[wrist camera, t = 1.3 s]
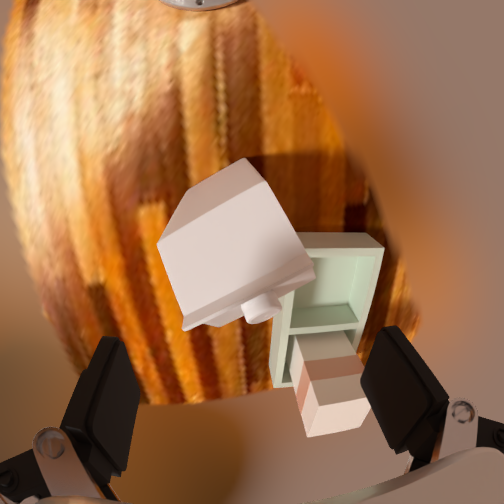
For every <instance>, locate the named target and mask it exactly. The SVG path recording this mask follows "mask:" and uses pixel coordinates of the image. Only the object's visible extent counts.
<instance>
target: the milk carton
mask: <svg viewBox="0 0 504 504" xmlns="http://www.w3.org/2000/svg"><path fill="white" fill-rule="evenodd" d="M157 246H158V249H159V252H160V255H161V258H162V261H163V263H164V266H165V269H166V272H167V274H168V277H169V280H170V282H171V285H172V288H173V290H174V293H175V295H176V298H177V300H178V303H179V305H180V308H181V310H182V313H183V315H184V321H183V327H182V329H183V330H184V331H188V330H190V329H192V328H194V327H196V326H198V325H200V324H202V323H204V324H208V325H212V326H216V327H221V326H223V325H225V324H227V323H230V322H232V321H234V320H236V319H238V318H240V317H242V316H245V318H246V321H247V322H248V323H249V324H256V323H260V322H263V321H265V320H267V319H270V318H271V317H273V316H275V315H277V314H278V313H279V312H280V311H281V310H282V305H281V303H280V301H279V300H278V298H280V297H282V296H284V295H286V294H288V293H290V292H291V291H293V290H295V289H297V288H299V287H301V286H303V285H305V284H307V283H309V282H310V281H312V280H314V279H315V278H316V276H315V273H314V270H313V266H314V263H313V262H312V260H311V259H310V257H309V255H308V254H307V252H306V250H305V248H304V247H303V245H302V243H301V241H300V239H299V238H298V236H297V234H296V232H295V230H294V229H293V227H292V225H291V223H290V221H289V220H288V218H287V216H286V214H285V213H284V211H283V209H282V207H281V206H280V204H279V202H278V200H277V199H276V197H275V195H274V193H273V192H272V190H271V188H270V187H269V185H268V183H267V182H266V181H265V180H264V178H263V177H262V176H261V175H260V174H259V173H258V172H257V170H256V169H255V168H254V167H253V166H252V165H251V164H250V162H249V161H248V160H247V159H246V158H242V159H240V160H239V161H237V162H235V163H233V164H231V165H229V166H228V167H226V168H224V169H222V170H221V171H219V172H217V173H215V174H214V175H212V176H210V177H209V178H207V179H205V180H203V181H202V182H200V183H198V184H197V185H195V186H193V187H192V188H190V189H189V190H187V192H186V193H185V195H184V197H183V198H182V200H181V202H180V204H179V205H178V207H177V209H176V211H175V212H174V214H173V216H172V218H171V219H170V221H169V223H168V225H167V227H166V228H165V230H164V232H163V234H162V236H161V238H160V239H159V241H158V243H157Z"/></svg>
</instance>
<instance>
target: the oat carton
mask: <svg viewBox="0 0 504 504" xmlns="http://www.w3.org/2000/svg"><path fill="white" fill-rule="evenodd" d="M286 360H287V364H288V368H289V371H290V375H291V379H292V382H293V386H294V390H295V393H296V399H297V403H298V406H299V410H300V414H301V416H302V419H303V423H304V427H305V430H306V434H307V437H312V436H318V435H324V434H329V433H334V432H339V431H344V430H349V429H353V428H357V427H360V425H361V424H362V422H363V420H364V418H365V417H366V415H367V413H368V411H369V410H370V408H371V406H370V404H369V402H368V400H367V398H366V396H365V393H364V391H363V389H362V387H361V384H360V378H361V376H362V373H363V371H364V366H363V364H362V362H361V361H360V359H359V357H358V355H357V354H356V353H355V351H354V349H353V347H352V345H351V343H350V341H349V340H348V338H347V336H346V334H345V332H344V331H343V330H339V331H330V332H319V333H307V334H294V335H289V338H288V345H287V351H286Z"/></svg>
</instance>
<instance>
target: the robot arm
mask: <svg viewBox="0 0 504 504" xmlns="http://www.w3.org/2000/svg"><path fill="white" fill-rule="evenodd" d="M159 1H161V2H162V3H164V4H166V5H168V6H170V7H173V8H177V9H180V10H189V11H204V10H212V9H217V8H221V7H225V6H227V5H230V4H233V3H235V2H237V1H239V0H159ZM199 4H202V5H199ZM360 384H361V387H362V389H363V391H364V393H365V396H366V398H367V400H368V402H369V404H370V406H371V408H372V410H373V412H374V414H375V416H376V419H377V420H378V423H379V425H380V427H381V429H382V432H383V433H384V436H385V438H386V440H387V442H388V445H389V447H390V448H391V449H394V451H395V453H396V454H399V453H402V452H405V451H407V450H409V453H410V457H409V460H408V463H407V466H406V469H405V472H404V475H402V476H399V477H397V478H394V479H391V480H388V481H386V482H383V483H380V484H377V485H374V486H371V487H368V488H364V489H361V490H358V491H355V492H351V493H347V494H343V495H339V496H335V497H331V498H327V499H322V500H318V501H312V502H307V503H302V504H504V424H503V423H500V422H496V421H493V420H489V419H486V418H482V417H479V416H478V410H477V408H476V406H475V405H474V404H473V403H472V402H471V401H470V400H468V399H465V398H455V399H453V400H452V401H451V402H449V401H448V399H449V396H448V394H447V393H446V392H445V390H444V389H443V387H442V386H441V384H440V383H439V381H438V380H437V378H436V377H435V376H434V374H433V373H432V371H431V370H430V369H429V367H428V366H427V365H426V363H425V362H424V360H423V359H422V358H421V356H420V355H419V354H418V352H417V351H416V350H415V349H414V347H413V346H412V344H411V343H410V342H409V340H408V339H407V338H406V336H405V335H404V334H403V333H402V331H401V330H400V329H399V327H397V326H388V327H383V328H382V329H381V330H380V332H378V333H377V335H376V338H375V341H374V344H373V347H372V350H371V352H370V355H369V358H368V360H367V363H366V366H365V368H364V371H363V373H362V376H361V378H360ZM139 400H140V389H139V386H138V383H137V381H136V378H135V375H134V372H133V369H132V366H131V363H130V360H129V357H128V354H127V351H126V347H125V344H124V342H122V341H120V340H119V338H118V337H109V336H103V337H102V338H101V340H100V342H99V344H98V346H97V348H96V350H95V353H94V355H93V357H92V359H91V361H90V364H89V366H88V368H87V369H85V370H83V372H82V373H81V376H80V378H79V380H78V382H77V385H76V387H75V390H74V392H73V394H72V397H71V399H70V402H69V404H68V407H67V409H66V412H65V415H64V417H63V420H62V423H61V425H60V428H56V427H47V428H43V429H42V430H40V431H39V432H38V433H37V434H36V435H35V437H34V439H33V444H32V447H33V448H32V449H30V450H28V451H26V452H24V453H22V454H20V455H17V456H15V457H13V458H10V459H8V460H6V461H3V462H1V463H0V504H131V503H125V502H121V500H120V499H119V497H118V496H117V495H116V493H115V492H114V490H113V489H112V487H111V486H110V484H109V483H110V479H111V475H112V476H117V477H121V472H122V471H125V470H126V468H127V462H128V456H129V450H130V444H131V439H132V434H133V428H134V424H135V419H136V414H137V409H138V405H139Z"/></svg>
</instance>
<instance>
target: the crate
mask: <svg viewBox="0 0 504 504" xmlns="http://www.w3.org/2000/svg"><path fill="white" fill-rule="evenodd" d="M296 234H297V236H298V238H299V239H300V241H301V243H302V245H303V247H304V248H305V250H306V252H307V254H308V255H309V257H310V259H311V260H312V262H313V263H314V266H313V270H314V273H315V276H316V278H315V279H314V280H312V281H310V282H309V283H307V284H305V285H303V286H301V287H299V288H297V289H295V290H293V291H291V292H290V293H288V294H286V295H284V296H282V297H280V298H278V300H279V301H280V303H281V305H282V310H281V311H280V312H279V313H278V314H277V315H275V316H274V317H273V328H272V338H271V348H270V358H269V368H270V373H271V377H272V382H273V387H274V388H281V387H292V386H293V382H292V379H291V375H290V371H289V368H288V364H287V360H286V351H287V345H288V338H289V335H294V334H307V333H319V332H330V331H339V330H343V331H344V332H345V334H346V336H347V338H348V340H349V341H350V343H351V345H352V347H353V349H354V351H355V353H356V351H357V348H358V345H359V342H360V339H361V336H362V333H363V330H364V326H365V323H366V320H367V316H368V313H369V309H370V306H371V302H372V299H373V295H374V291H375V287H376V283H377V279H378V275H379V271H380V267H381V263H382V258H383V254H384V249H385V248H384V247H383V246H382V245H381V244H379V243H378V242H377V241H376V240H374V239H373V238H372V237H371V236H369V235H368V234H367V233H347V232H296Z"/></svg>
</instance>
